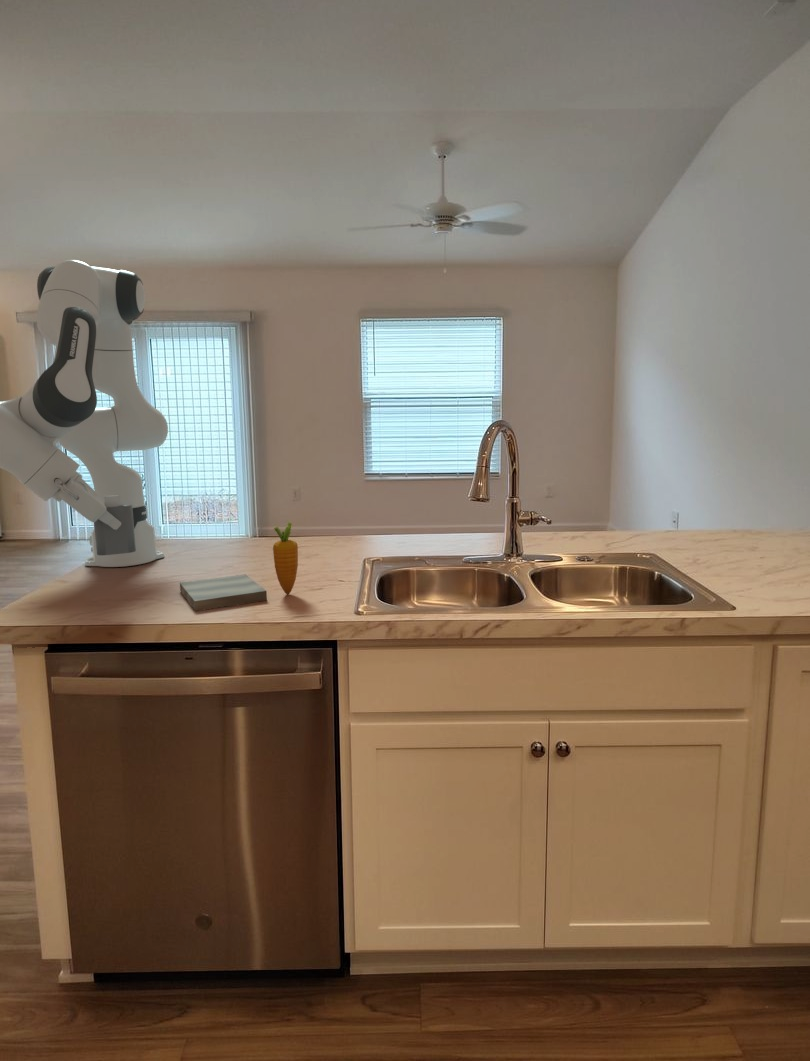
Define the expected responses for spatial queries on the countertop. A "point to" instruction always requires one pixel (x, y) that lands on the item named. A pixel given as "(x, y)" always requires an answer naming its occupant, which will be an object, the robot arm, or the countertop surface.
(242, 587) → the striped sage slab
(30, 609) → the countertop surface
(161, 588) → the countertop surface
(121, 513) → the block
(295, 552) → the carrot
